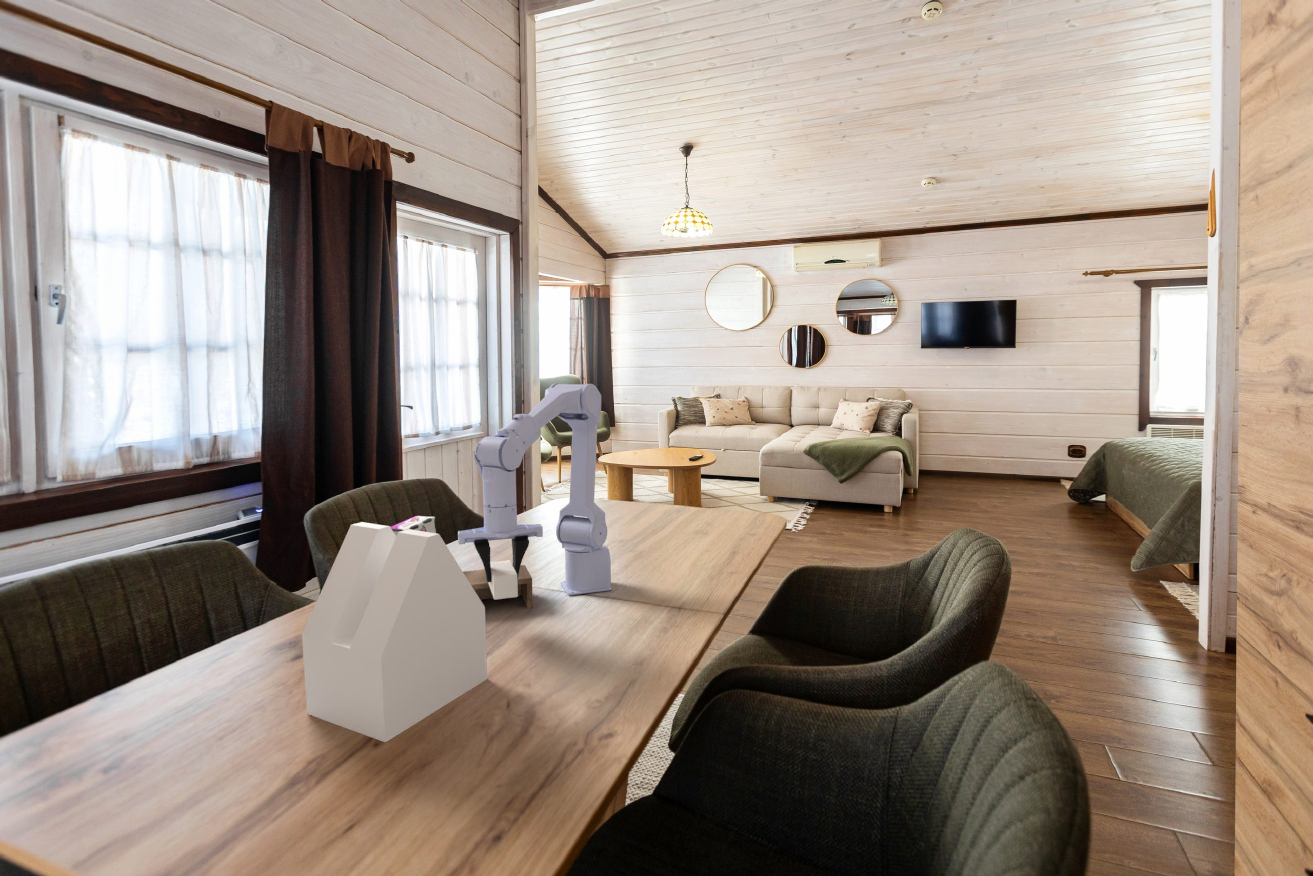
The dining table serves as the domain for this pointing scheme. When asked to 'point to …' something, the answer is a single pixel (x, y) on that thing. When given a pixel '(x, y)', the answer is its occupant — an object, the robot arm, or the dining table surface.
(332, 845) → the dining table surface
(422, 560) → the white tapered slotted holder
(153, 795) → the dining table surface
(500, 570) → the block
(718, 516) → the dining table surface
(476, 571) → the cubby
